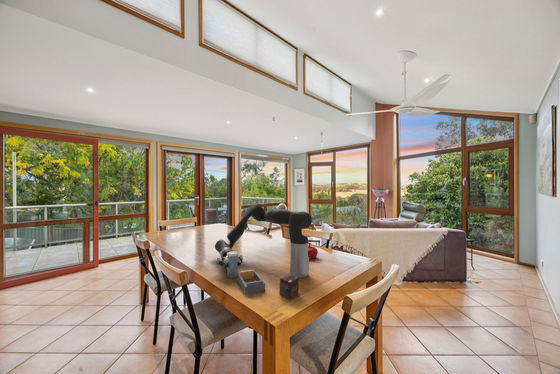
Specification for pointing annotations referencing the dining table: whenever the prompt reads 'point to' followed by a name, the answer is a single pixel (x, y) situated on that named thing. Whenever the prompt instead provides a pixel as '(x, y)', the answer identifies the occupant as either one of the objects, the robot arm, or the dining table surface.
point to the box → (289, 286)
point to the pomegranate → (312, 252)
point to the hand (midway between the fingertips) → (233, 265)
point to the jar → (232, 264)
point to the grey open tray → (252, 284)
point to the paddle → (247, 274)
